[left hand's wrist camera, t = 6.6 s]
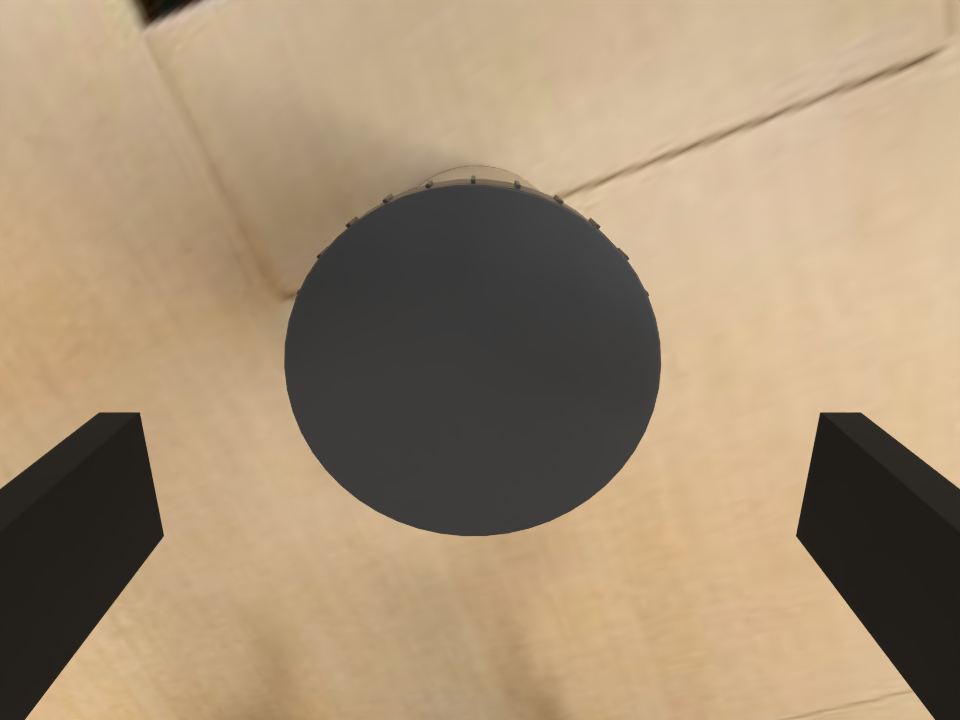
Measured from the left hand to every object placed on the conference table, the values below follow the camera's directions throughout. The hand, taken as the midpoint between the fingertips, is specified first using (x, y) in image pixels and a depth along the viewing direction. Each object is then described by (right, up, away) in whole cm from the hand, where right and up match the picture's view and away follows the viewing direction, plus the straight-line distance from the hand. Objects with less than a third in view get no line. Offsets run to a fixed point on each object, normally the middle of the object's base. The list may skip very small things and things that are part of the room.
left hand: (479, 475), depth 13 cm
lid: (0, +2, +5) cm, 5 cm away
